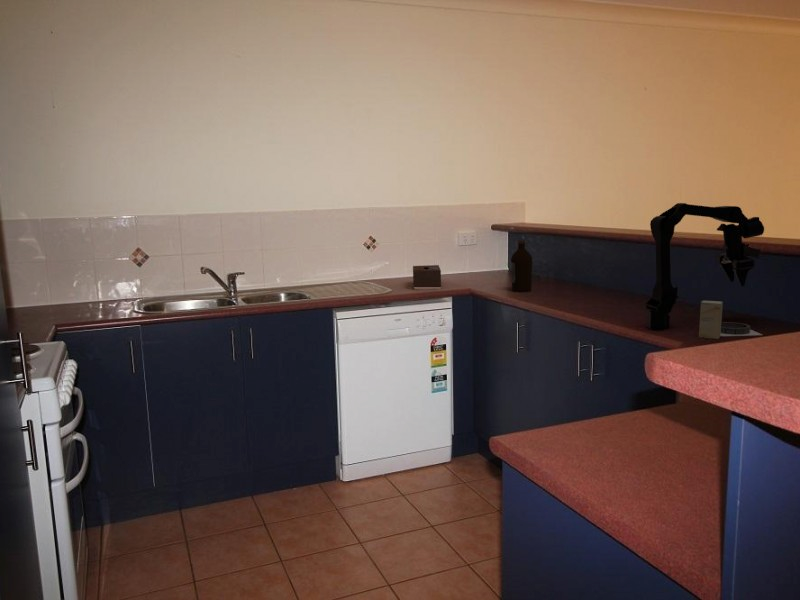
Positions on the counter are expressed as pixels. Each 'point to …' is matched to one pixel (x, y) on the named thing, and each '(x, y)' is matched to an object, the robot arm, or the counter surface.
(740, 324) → the dark grey ring
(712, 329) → the skincare box
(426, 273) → the tissue box cover
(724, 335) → the grey base plate
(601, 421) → the counter surface
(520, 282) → the olive oil
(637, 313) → the counter surface
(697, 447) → the counter surface
